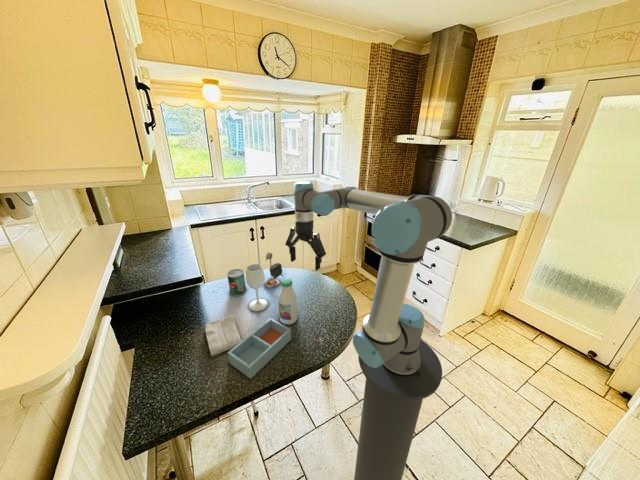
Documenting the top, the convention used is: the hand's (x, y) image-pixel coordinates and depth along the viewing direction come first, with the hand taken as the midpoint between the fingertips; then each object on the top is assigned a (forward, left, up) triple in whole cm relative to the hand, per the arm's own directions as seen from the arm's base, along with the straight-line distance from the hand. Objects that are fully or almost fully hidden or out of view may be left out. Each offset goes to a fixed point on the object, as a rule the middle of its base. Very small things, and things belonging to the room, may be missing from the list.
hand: (305, 264), depth 114 cm
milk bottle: (0, +13, -22) cm, 25 cm away
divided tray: (-3, +32, -22) cm, 39 cm away
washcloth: (+15, +36, -22) cm, 44 cm away
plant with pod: (+25, -4, -22) cm, 33 cm away
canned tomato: (+35, +12, -22) cm, 43 cm away
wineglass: (+18, +14, -22) cm, 32 cm away
